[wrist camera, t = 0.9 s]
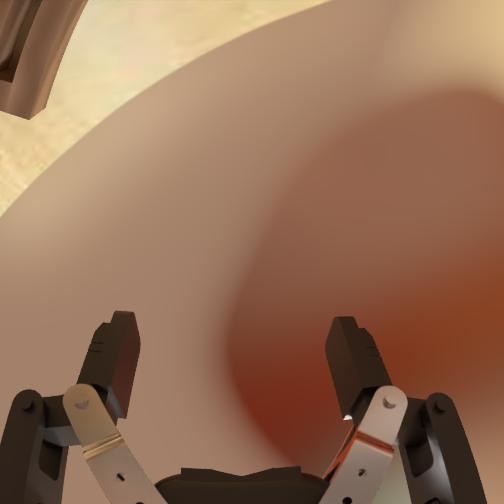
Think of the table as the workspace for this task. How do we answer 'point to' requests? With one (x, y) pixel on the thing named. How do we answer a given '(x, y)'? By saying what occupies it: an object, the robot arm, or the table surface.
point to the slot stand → (33, 52)
